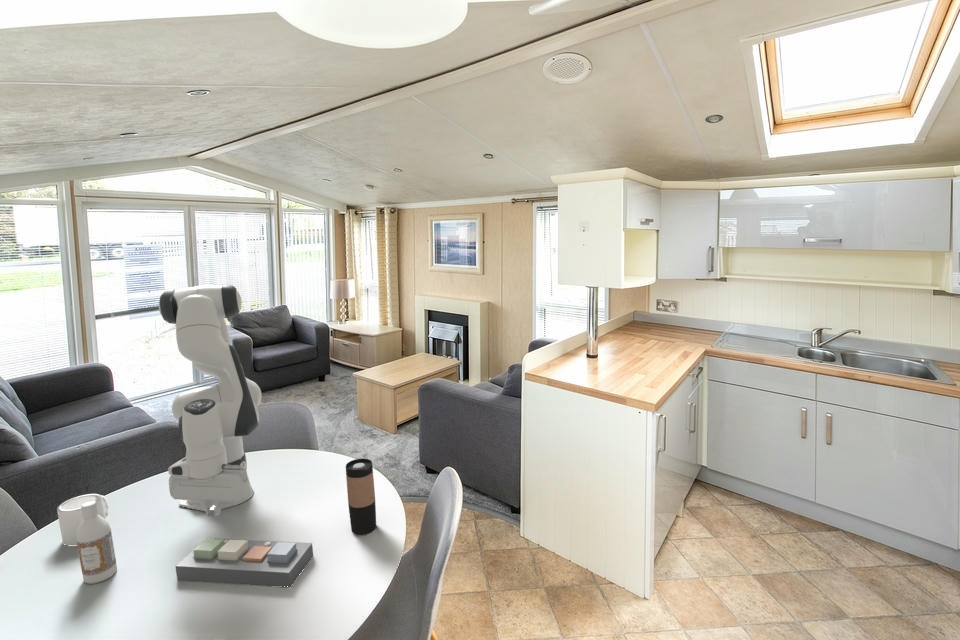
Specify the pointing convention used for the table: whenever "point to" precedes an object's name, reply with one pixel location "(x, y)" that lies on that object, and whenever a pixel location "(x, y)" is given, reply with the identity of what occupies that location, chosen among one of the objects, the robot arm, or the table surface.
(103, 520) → the bath foam
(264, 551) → the terracotta key
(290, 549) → the slate key
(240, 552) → the cream key
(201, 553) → the sage key
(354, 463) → the travel mug
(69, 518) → the mug
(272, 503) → the table surface
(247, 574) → the keypad
